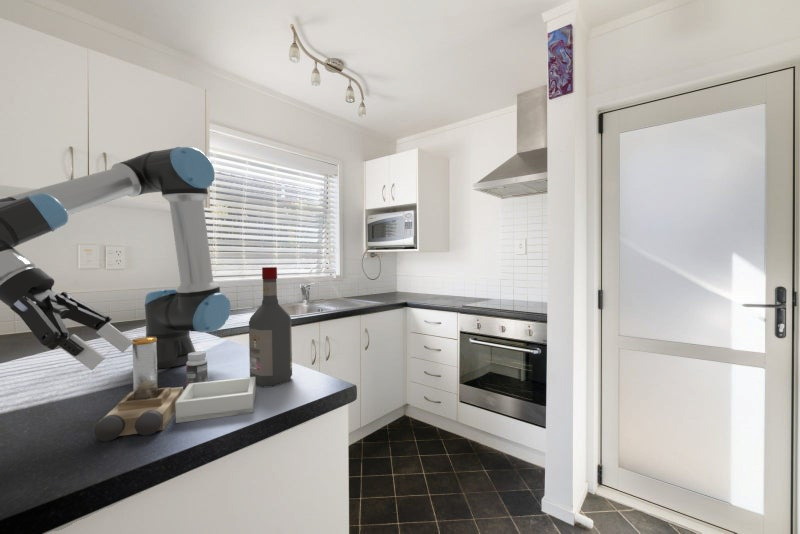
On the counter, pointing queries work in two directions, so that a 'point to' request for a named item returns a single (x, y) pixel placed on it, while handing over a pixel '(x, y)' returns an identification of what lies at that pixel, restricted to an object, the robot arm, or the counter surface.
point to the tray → (216, 399)
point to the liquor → (270, 336)
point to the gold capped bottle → (145, 368)
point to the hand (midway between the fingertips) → (115, 355)
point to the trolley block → (139, 415)
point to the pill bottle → (196, 368)
